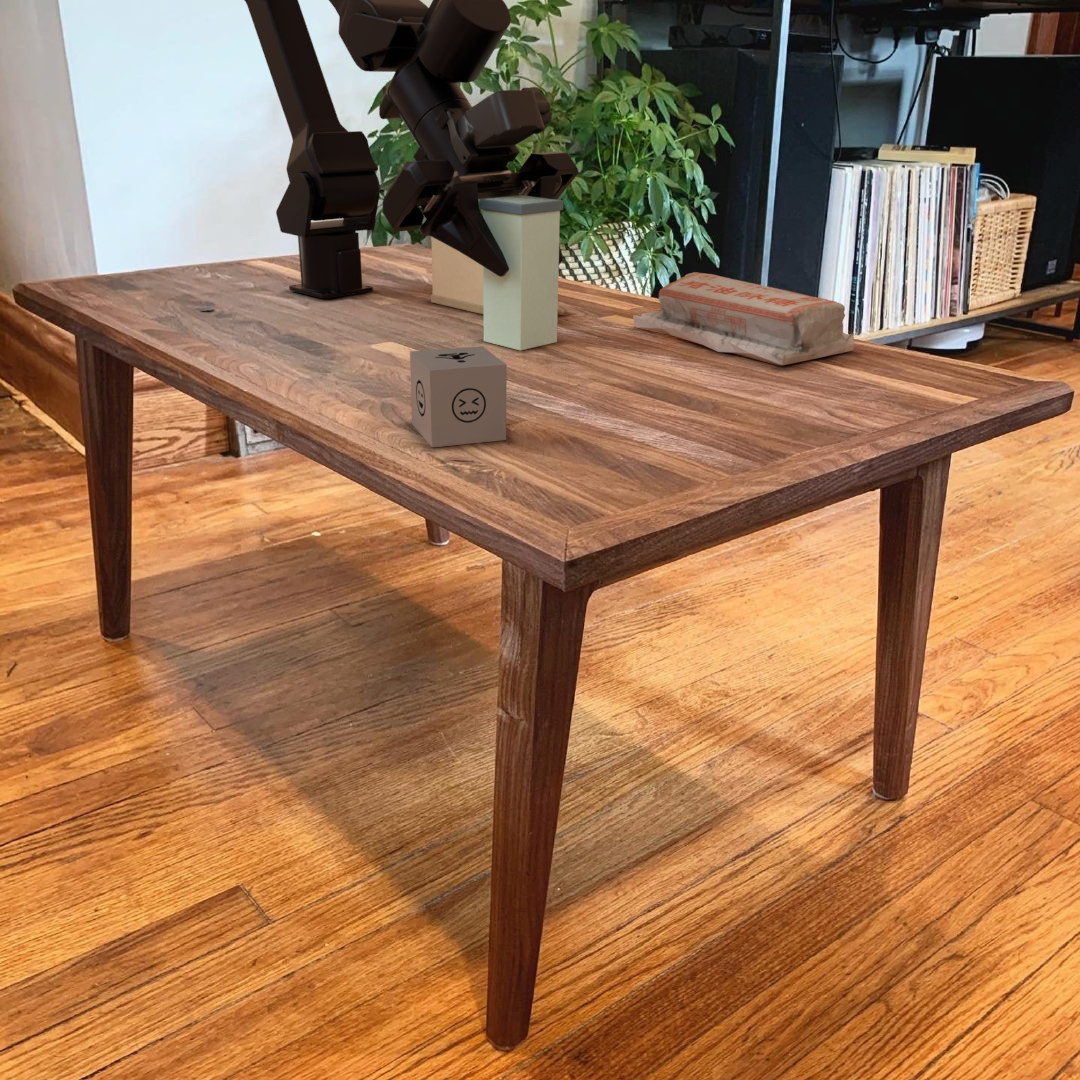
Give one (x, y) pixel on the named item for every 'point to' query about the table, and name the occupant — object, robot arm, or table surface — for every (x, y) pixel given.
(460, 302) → the wall
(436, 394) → the dice cube
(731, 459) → the table surface
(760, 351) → the packaged product
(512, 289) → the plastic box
